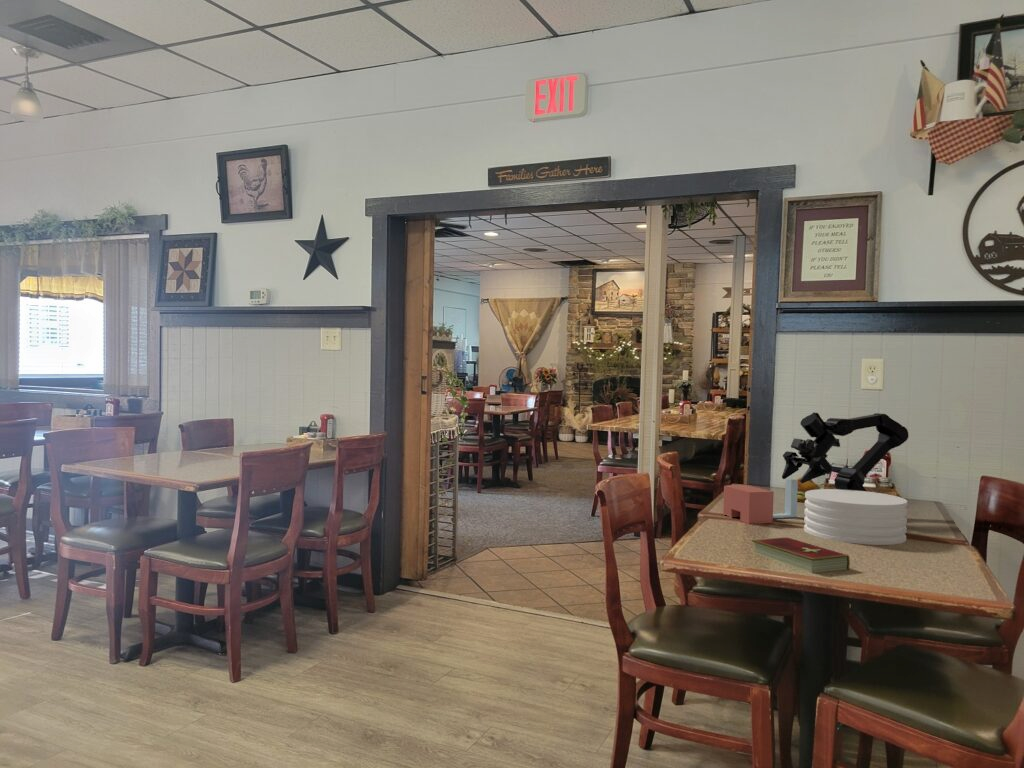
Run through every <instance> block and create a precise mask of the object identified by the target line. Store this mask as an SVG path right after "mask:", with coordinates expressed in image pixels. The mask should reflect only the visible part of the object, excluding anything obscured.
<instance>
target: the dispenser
mask: <svg viewBox="0 0 1024 768" xmlns="http://www.w3.org/2000/svg"><path fill="white" fill-rule="evenodd" d="M774 494H775V493H774V490H773V491H771V490H769V489H764V488H761V487H757V486H752V485H750V484H736V485H735V484H733V485H723V510H722V511H723V514H724V515H727V516H729V517H728V518H730V517H740V518H739V520H740V522H743V523H745V524H748V525H753V524H754V525H755V524H773V522H774V518H773V514H774ZM723 514H722V515H723ZM724 515H723V516H724ZM727 516H726V517H727Z"/></svg>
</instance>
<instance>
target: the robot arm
mask: <svg viewBox="0 0 1024 768" xmlns="http://www.w3.org/2000/svg"><path fill="white" fill-rule="evenodd" d="M800 426H801V427H802V428H803V430H804V431H805V432H806V433H807V435H808V436H809V437H810V438H814V440H813V439H809V438H807V439H802V438H795V437H794V438H793V440H792V442H791V445H790V448H791V449H795V450H797V451H798V452H797V453H798V454H797V453H796V452H794V451H789V450H788V451H785V452H784V453H783V454H782V457H783V460H784V461H785V466H784V469H783V472H782V476H781V478H782V480H786V479H788V478H789V477H790V476H792V475H793V474H795V473H797V472H798V471H800V468H801V467H803V465H807V466H808V468H807V470H806V471H805V473H803V475H802V476H801V477H802V478H801V477H800V478H801V480H800V482H801V483H804V482H807V481H809V480H812V481H813V480H814V479H817V478H820V477H823V476H826V475H830V474H831V472H832V471H833V466H832V465H831V463H830V462H829V461H828V459H827V458H828V454H827V453H828V452H829V451H830V449H832V448H833V447H837V448H840V447H841V443H840V438H836V437H835V436H841V437H845V436H847V435H850V434H852V433H853V432H855V431H857V430H861V429H867V428H876V431H877V432H878V436H877V437H878V438H877V441H876V442H875V443H874V444H873V446H872V447H870V448H869V449H868V450H867V452H866V453H865V454H864V455H862V457H861V458H860V459H859V460H858V461H857V462H856V463H855V464H854V465H853V466H852V467H846V466H844V467H843V468H841V469H840V471H839V472H838V473H836V474H835V475H836V476H835V478H834V479H833V480H834V488H835V489H841V490H857V491H867V489H866V488H865V487H864V484H865V479H866V477H867V475H868V474H869V473H870V472H871V471H872V469H873V468H875V467H876V466H877V464H879V462H880V461H881V460H882V459H883V458H884V457H885V456H886V455H887V454H888V453H889V451H890V450H893V449H895V448H897V447H900V446H901V445H903V444H904V443H905V442H907V440H908V439H909V430H908V429H907V427H905V426H903V425H902V424H901V423H899V422H898V421H896V420H894V419H893V418H892V417H890V416H889V415H888V414H885V413H881V412H880V413H878V412H875V413H873V414H869V415H862V416H857V417H851V418H850V417H849V418H842V417H841V418H839V417H830V418H827V420H826V421H824V420H823V419H822V417H821V415H820V414H819V412H812V413H811V414H809V415H807V416H805V417H803V418H802V419H801V421H800ZM800 456H801V457H800Z"/></svg>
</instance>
